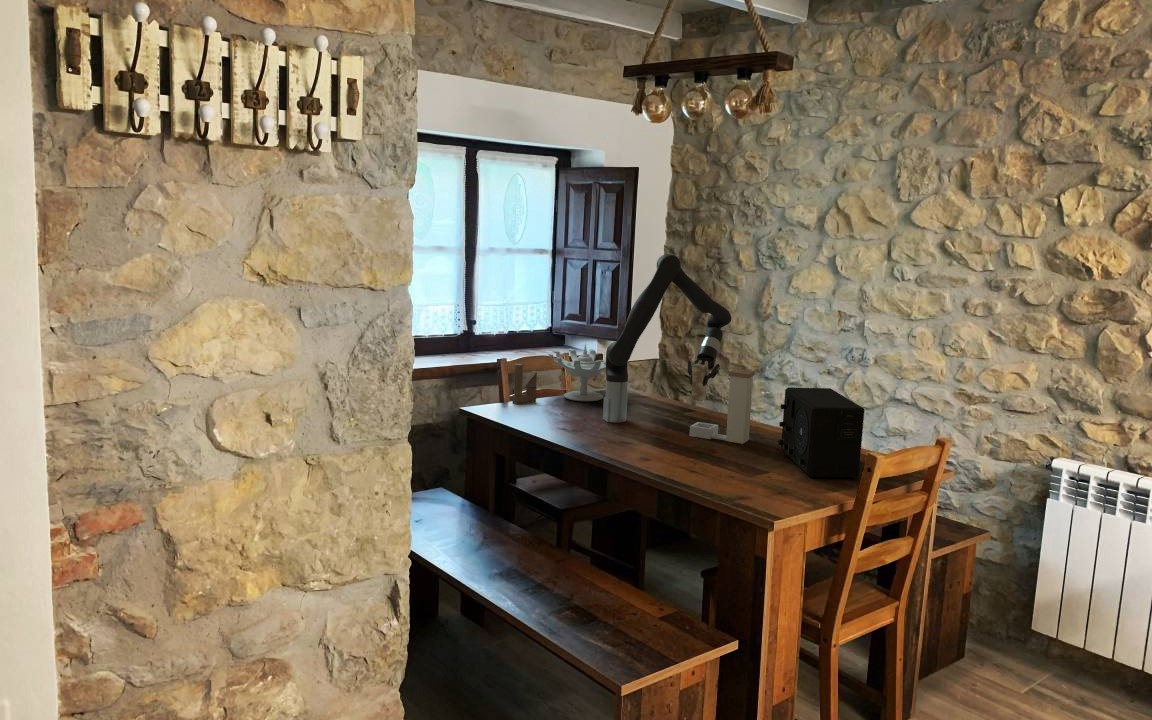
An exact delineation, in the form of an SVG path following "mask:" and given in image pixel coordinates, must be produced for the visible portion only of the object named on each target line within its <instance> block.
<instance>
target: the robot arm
mask: <svg viewBox="0 0 1152 720" xmlns="http://www.w3.org/2000/svg"><path fill="white" fill-rule="evenodd" d="M681 266H682V265H681V261H680V259H679V258H678V257H677V256H676V255H674V254H670V253H668V254H667V253H666V254H663V255H660V257H659V258H658V259H657V260H656V271H655V273H654V275H653V277H652V279H651V281H649V284H648V285H647V286H646V287H645V288H644V290H642V292H641V293H640V295H639V296H638V297H637V299H636V300H635V302H634V304H633V306H632V307H631V309H630V312H629V314H628V315H627V316H628V317H627V319H626V322H625V326H624V328H623V331H622V332H621V334H620V336H619V337H618V339H617V340H616V341H613V342H612V343H610V344H609V345H608V346H607V348H606V350H605V351H606V353H605V358H606V364H605V365H606V369H605V396H603V406H602V407H603V409H602V420H604V421H605V422H606V423H614V424H615V423H619V424H620V423H625V422H627V413H628V412H627V407H628V391H629V389H628V388H629V387H628V385H629V374H628V373H629V372H628V363H629V361H630V359H631V357H632V354H633V352H634V349H635V347H636V344H637V343H638V341H639V339H640V337H641V336H642V334H643V332H644V331H645V330H646V328H647V326H648V325H649V323H650V321H651V320H652V318H653V316H654V315H655V313H656V311H657V309H658V308H659V306H660V304H661V303H662V299H663V298H664V295H665V293H666V292H667V289H668V288H669V287H670V285H671V284H674V285H675V286H676V287H677V288H678V289H679V290H680V291H681V292H682V293H683V294H684V296H685V297H686V298H687V299H688V300H689V301H690V303H692V304H693V305H694V307H696V310H698V311H699V312H700V313H701V314H710V315H709V316H708V318H707V321H706V328H705V329H706V332H705V335H704V337H703V341H702V342H701V344H700V346H699V347H700V348H699V350H698V354H697V356H696V359H695V360H694V361H691V360H687V373H688V375H689V376H690V378H689V383H690V385H691V386H692V375H693V365H695V364H702V365H707V369H706V373H705V375H706V376H704V379H703V382H702V385H703V386H705V385H706V386H707V385H708V382H709V379H714V378H715V377H716V376H717V374H718V373H719V371H721V365H720V363H715V362H716V360H717V357H718V353H720V346H721V342H722V340H723V335H724V333H723V331H722V330H721V329H723V328H724V327H726V326H727V325H729V324H730V323H731V322H732V315H731V313H730V311H729V310H728V309H727V308H726V307H724V306H723V305H721V304H719V303H718V302H716V301H715V300H713V299H712V298H711V297H710V295H708V293H707V292H706V291H705V290H704V289H702V287H700V285H698V284H697V283H696V282H695V281H694V280H692V279H691V278H690V277H689V275H687V273H685V271H684V269H683V268H682V267H681ZM711 370H712V371H711Z"/></svg>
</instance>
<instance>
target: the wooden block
mask: <svg viewBox="0 0 1152 720" xmlns="http://www.w3.org/2000/svg"><path fill="white" fill-rule="evenodd" d="M523 366H524V365H523V364H522V363H515V364H514V375H513V377H514V379H513V380H514V381H513V389H514V390H513V395H512V404H514V405H520V404H533V403H536V402H537V387H538V385H537V380H538V379H537V377H538V371H535V370H532V371H531V372H530V374H529V375H528V376H527V377H526V378H525V379H524V381H523V375H524V374H523V370H524V369H523ZM523 389H525V394H523Z"/></svg>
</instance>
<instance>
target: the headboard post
mask: <svg viewBox="0 0 1152 720" xmlns="http://www.w3.org/2000/svg"><path fill="white" fill-rule="evenodd" d="M727 375H728V377H729V389H728V400H727V401H728V403H727V418H726V434H722V433H721V434H719V424H715V423H714V424H713V423H707V422H701V421H698V422H695V423H693V424H692V425H690V426H689V437H694V438H700V439H707V440H711V439H715V440H722V441H725V442H730V443H736V444H742V445H743V444H745V443H746V442H748V441H749V440H750V427H751V411H752V398H753V397H752V395H753V394H752V393H753V381H754V379H753V378H754V376H755V375H756V372H755V370H746V369H739V368H734V369H732V370H730V371H728V374H727Z"/></svg>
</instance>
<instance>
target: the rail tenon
mask: <svg viewBox="0 0 1152 720" xmlns="http://www.w3.org/2000/svg"><path fill="white" fill-rule="evenodd" d="M706 369H707V365H702V364H695V365H693V367H692V371H693V375H692V385H691V397H690V398H691V401H697V402H702V401H704V400H706V397H707V396H706V395H707V385H705V386H703V385H702V382H703V379H704V376H706V375H705V373H706Z"/></svg>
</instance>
